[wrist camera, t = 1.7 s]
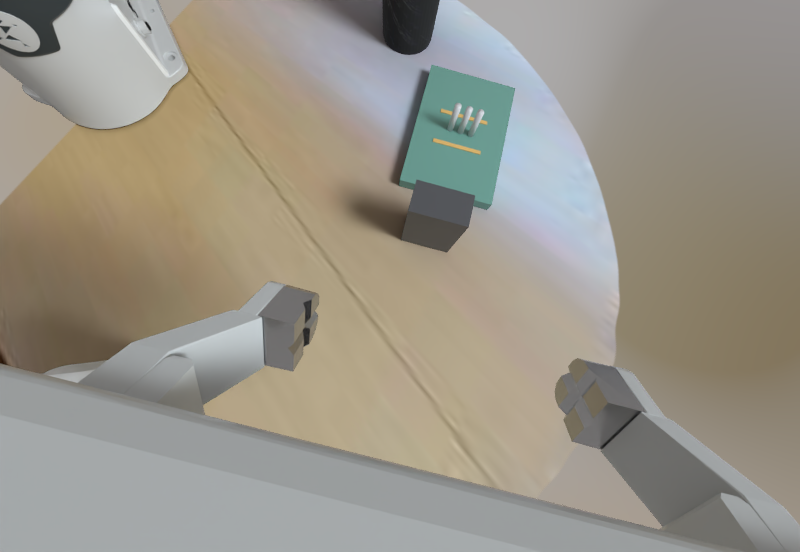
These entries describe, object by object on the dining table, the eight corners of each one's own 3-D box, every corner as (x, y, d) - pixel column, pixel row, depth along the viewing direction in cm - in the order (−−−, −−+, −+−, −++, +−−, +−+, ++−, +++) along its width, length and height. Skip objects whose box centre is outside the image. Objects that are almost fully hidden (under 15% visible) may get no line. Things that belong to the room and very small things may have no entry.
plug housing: (400, 239, 36) (408, 210, 28) (407, 215, 37) (416, 179, 28) (446, 252, 37) (468, 227, 28) (452, 227, 37) (475, 195, 28)
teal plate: (398, 185, 38) (402, 161, 32) (429, 74, 41) (437, 35, 36) (487, 209, 38) (505, 189, 33) (510, 96, 42) (529, 62, 36)
